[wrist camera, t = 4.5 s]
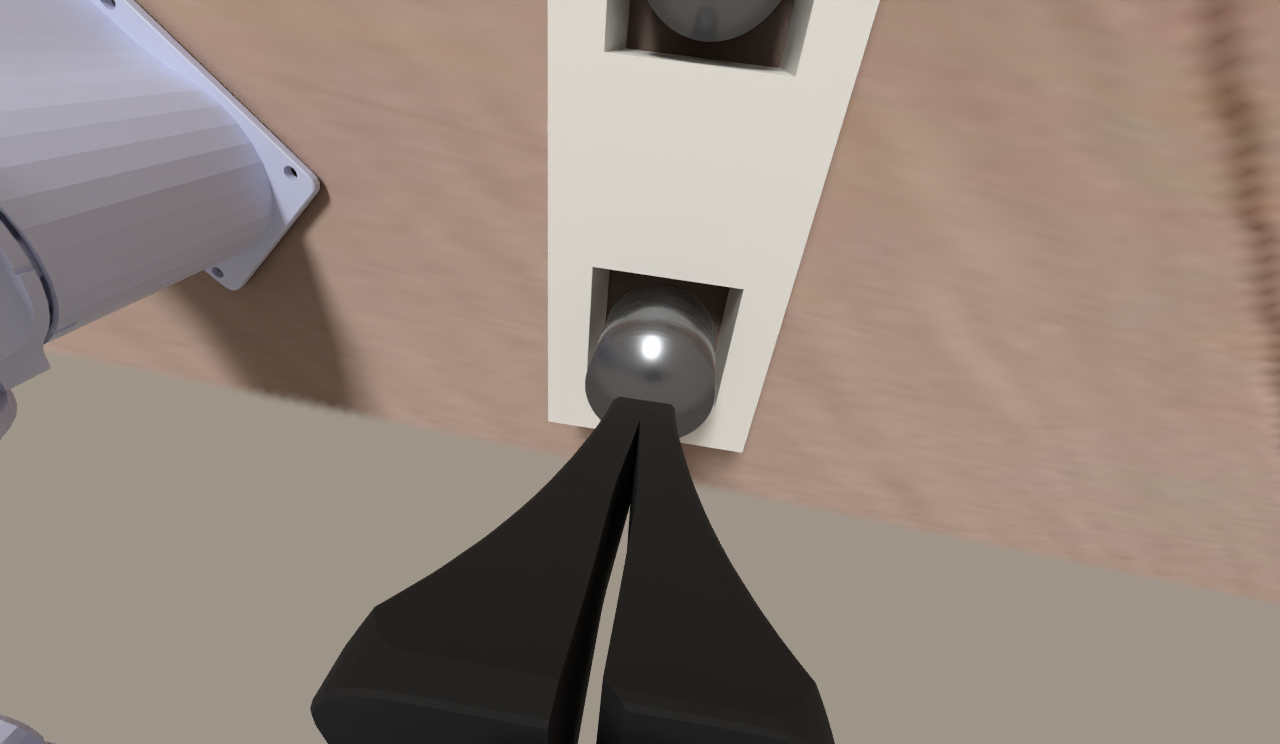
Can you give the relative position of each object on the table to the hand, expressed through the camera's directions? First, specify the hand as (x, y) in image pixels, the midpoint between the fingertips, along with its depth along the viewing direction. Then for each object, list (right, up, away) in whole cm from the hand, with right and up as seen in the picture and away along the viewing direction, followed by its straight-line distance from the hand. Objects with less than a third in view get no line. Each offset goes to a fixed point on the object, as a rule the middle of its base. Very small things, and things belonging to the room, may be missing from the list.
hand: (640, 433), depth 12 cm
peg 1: (+1, +3, +6) cm, 7 cm away
